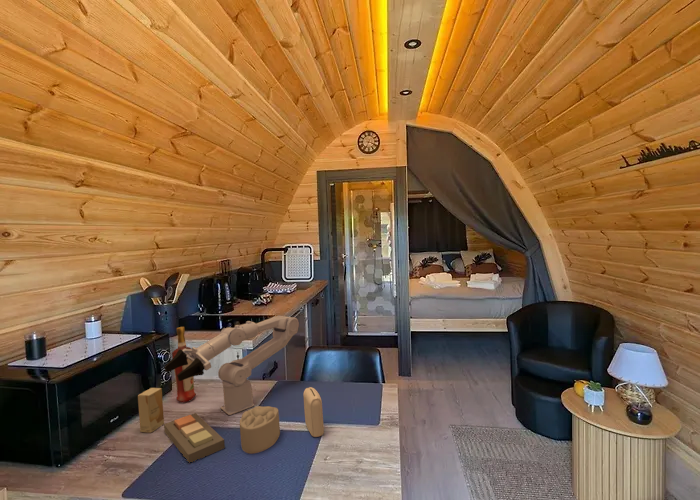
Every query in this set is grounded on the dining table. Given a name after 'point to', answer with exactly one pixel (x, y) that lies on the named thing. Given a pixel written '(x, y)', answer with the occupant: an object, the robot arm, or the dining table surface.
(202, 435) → the sage key
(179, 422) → the terracotta key
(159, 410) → the skincare box
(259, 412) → the lumpy-topped squat cylinder
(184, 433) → the cream key
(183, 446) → the keypad base
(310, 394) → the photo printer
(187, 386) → the liquor
